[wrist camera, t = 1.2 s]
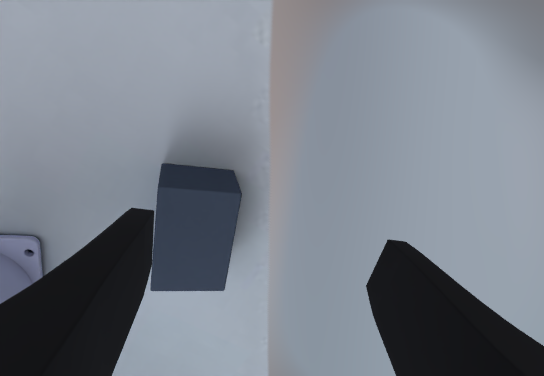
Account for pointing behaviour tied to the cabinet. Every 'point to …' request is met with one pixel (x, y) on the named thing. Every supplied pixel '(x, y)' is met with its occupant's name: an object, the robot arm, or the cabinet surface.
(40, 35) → the cabinet surface
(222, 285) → the dark blue block
